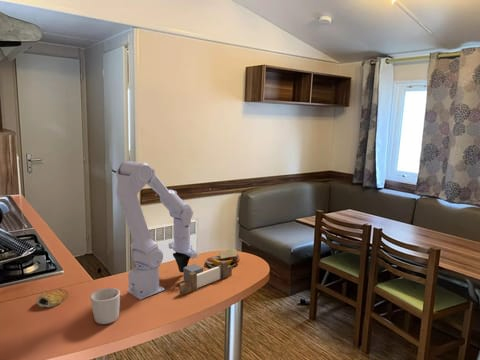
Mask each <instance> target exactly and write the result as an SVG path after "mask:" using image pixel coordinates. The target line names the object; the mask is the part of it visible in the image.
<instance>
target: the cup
mask: <svg viewBox="0 0 480 360" xmlns="http://www.w3.org/2000/svg"><path fill="white" fill-rule="evenodd" d="M120 301H121V291H120V290H119V289H118V288H114V287H105V288H104V287H103V288H100V289H98V290H95V291H93V292H92V293H91V294H90V302H91V303H90V304H91V307H92V313H93V318H94V321H95V322H96V323H97V324H99V325H108V324H111V323H114V322H115V321H116V320H117V319H118V318H119V317H120V316H119V315H120V303H121V302H120Z"/></svg>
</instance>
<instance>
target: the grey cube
mask: <svg viewBox="0 0 480 360" xmlns="http://www.w3.org/2000/svg"><path fill="white" fill-rule="evenodd" d="M190 272H195V273H197V274H199V273H201V272H204V267H202V266H200V265H198V264H196V263H193V264H190V265H187V267H184V268H183V272H182V273H183V282H187V281H188V273H190Z"/></svg>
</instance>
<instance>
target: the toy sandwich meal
mask: <svg viewBox="0 0 480 360" xmlns="http://www.w3.org/2000/svg"><path fill="white" fill-rule="evenodd" d="M223 260H224V261H227V262H228V266H229V265H230V266H232V268H233V267H234V266H236V265H237V264H238V263H239V262H240V260H241V259H240V255H239V252H238V250H237V249H235V248H232V249H226V250H222V251H219V254H218V255H214V256H211V257H208V258H207V259H206V260H205V264H206V265H207V266H208V267H209V268H210V269H212V268H215V267H219V265H220V262H221V261H223Z"/></svg>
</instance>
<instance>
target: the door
mask: <svg viewBox="0 0 480 360" xmlns="http://www.w3.org/2000/svg"><path fill="white" fill-rule="evenodd" d="M221 279H222V278H221V265H219V267H215V268H209V269H207V270H203V272H201V273H199V274H197V289H200V288H201V287H204V286H206V285H209V284H210V283H211V284H212V283H214V282H216V281H218V280H221Z"/></svg>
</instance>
